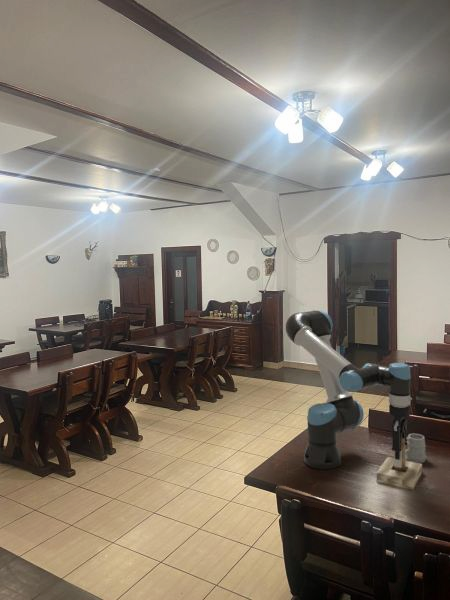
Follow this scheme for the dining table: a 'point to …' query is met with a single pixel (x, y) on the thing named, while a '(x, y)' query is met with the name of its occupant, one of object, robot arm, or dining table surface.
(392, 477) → the wooden block with hole
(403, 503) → the dining table surface
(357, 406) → the robot arm
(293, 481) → the dining table surface
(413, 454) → the mug
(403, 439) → the leg
